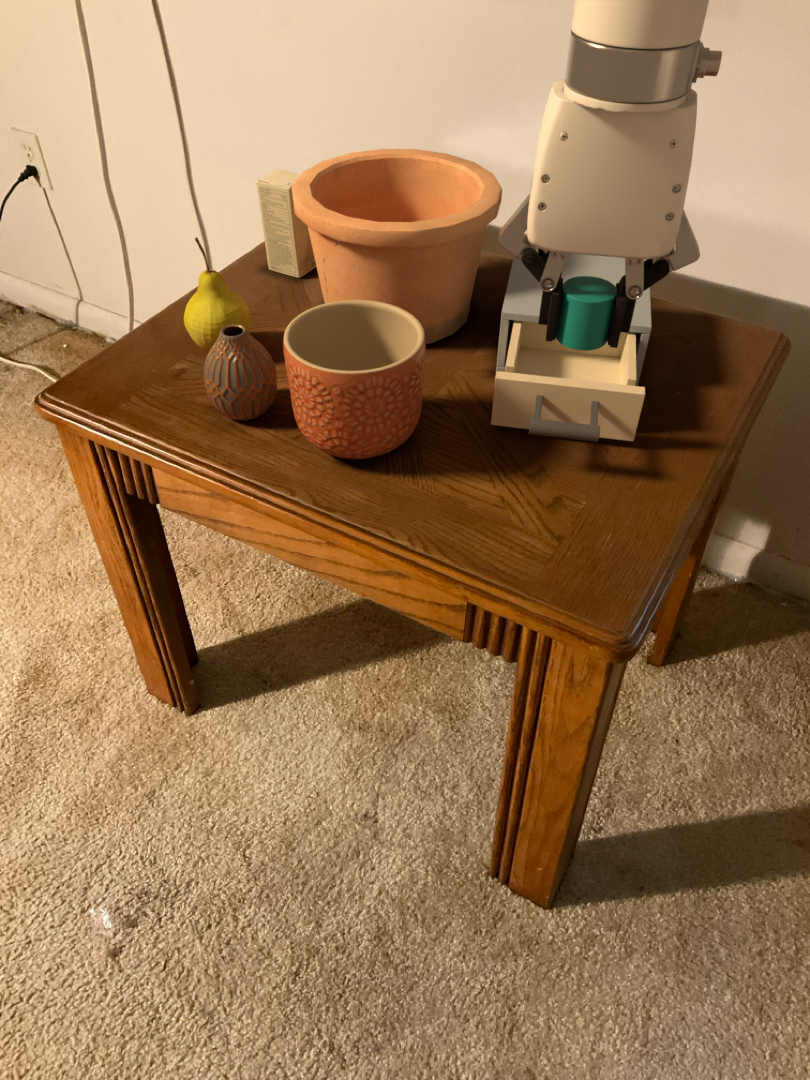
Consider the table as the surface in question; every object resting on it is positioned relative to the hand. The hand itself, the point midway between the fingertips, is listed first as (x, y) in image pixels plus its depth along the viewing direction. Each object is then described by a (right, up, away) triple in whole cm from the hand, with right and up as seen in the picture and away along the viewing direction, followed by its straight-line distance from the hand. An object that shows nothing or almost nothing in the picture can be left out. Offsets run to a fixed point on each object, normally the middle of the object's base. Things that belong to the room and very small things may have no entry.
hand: (581, 333), depth 62 cm
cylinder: (0, 0, 0) cm, 0 cm away
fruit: (-33, +5, +27) cm, 43 cm away
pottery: (-14, +11, +33) cm, 38 cm away
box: (-28, +18, +41) cm, 52 cm away
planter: (-18, -6, +16) cm, 25 cm away
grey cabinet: (+5, +6, +28) cm, 29 cm away
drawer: (+2, -3, +18) cm, 18 cm away
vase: (-29, -3, +19) cm, 35 cm away
